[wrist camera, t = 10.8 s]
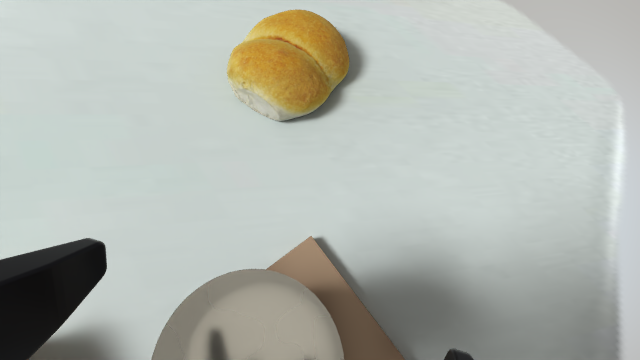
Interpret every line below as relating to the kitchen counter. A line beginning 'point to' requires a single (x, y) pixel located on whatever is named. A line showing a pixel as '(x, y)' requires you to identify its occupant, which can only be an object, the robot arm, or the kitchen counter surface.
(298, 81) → the bread roll
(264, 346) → the tea tin
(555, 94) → the kitchen counter surface
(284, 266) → the coaster
